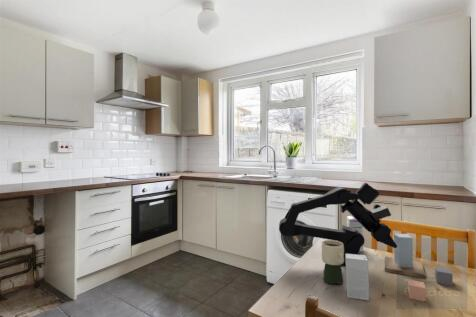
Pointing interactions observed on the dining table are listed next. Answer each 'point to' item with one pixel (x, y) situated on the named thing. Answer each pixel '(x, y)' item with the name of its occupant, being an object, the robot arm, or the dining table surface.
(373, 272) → the dining table surface
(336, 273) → the character mug
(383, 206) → the robot arm
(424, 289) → the terracotta block
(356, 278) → the skincare box
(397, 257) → the slate block
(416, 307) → the dining table surface
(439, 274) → the charcoal block
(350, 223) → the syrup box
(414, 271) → the walnut board
